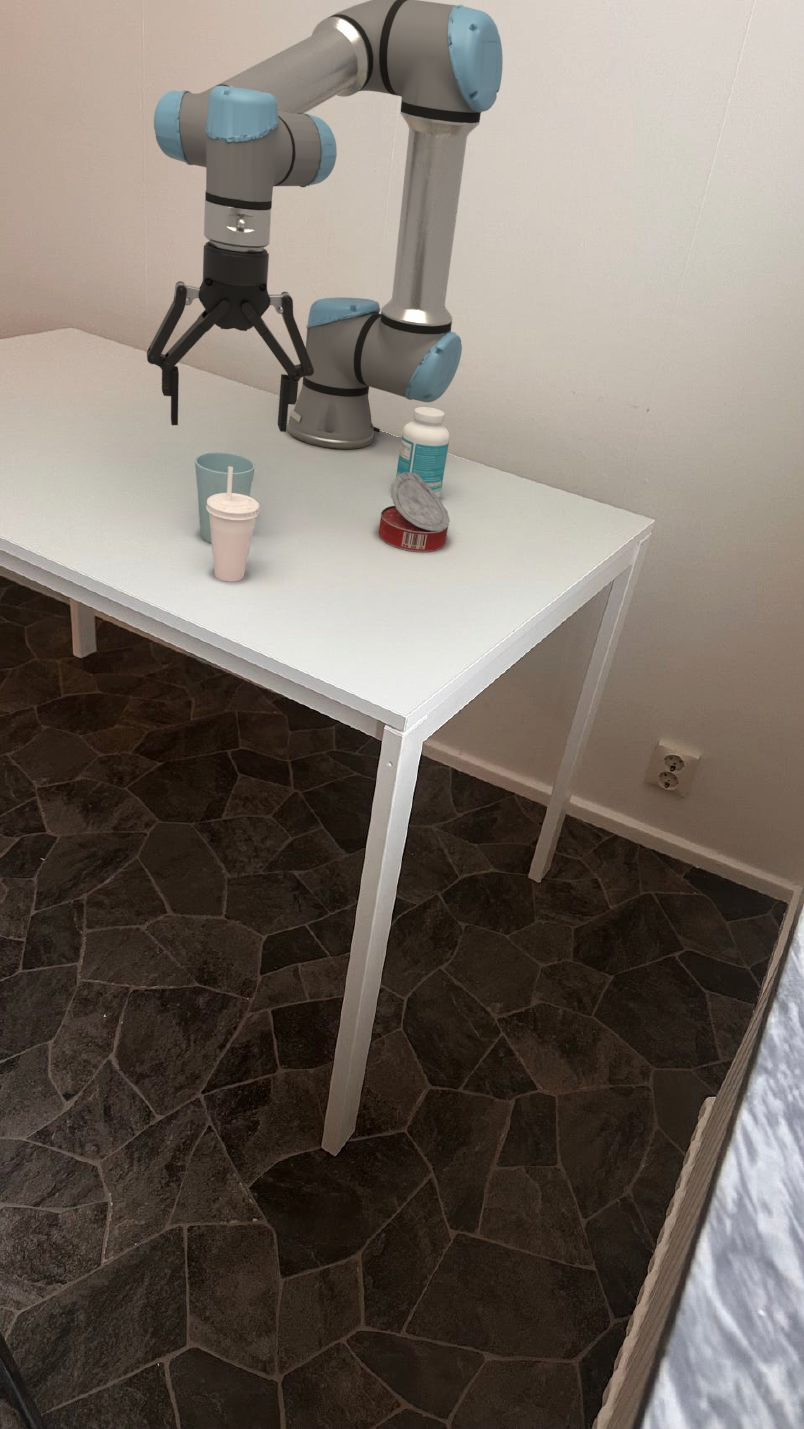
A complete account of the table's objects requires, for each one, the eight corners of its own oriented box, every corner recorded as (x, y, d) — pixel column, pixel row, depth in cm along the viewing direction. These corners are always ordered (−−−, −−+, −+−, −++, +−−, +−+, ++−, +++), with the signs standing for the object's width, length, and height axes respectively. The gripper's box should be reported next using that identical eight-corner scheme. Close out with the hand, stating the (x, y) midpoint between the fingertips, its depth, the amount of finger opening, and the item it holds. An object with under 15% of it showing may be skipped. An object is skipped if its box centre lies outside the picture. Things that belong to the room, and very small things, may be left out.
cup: (257, 547, 133) (262, 472, 127) (201, 550, 129) (203, 473, 124) (241, 524, 138) (245, 452, 133) (186, 526, 135) (188, 452, 129)
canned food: (418, 554, 150) (456, 499, 147) (435, 577, 141) (475, 519, 139) (357, 517, 145) (395, 459, 142) (371, 538, 136) (411, 476, 134)
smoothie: (205, 561, 127) (210, 455, 119) (255, 566, 128) (263, 461, 120) (201, 583, 121) (205, 474, 114) (253, 588, 122) (261, 480, 115)
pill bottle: (446, 495, 160) (461, 412, 153) (428, 508, 154) (443, 422, 147) (405, 483, 162) (417, 400, 155) (385, 494, 156) (398, 409, 149)
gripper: (125, 238, 108) (127, 429, 120) (347, 262, 115) (329, 440, 127) (124, 226, 114) (127, 409, 126) (336, 250, 121) (320, 421, 133)
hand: (228, 425), depth 126 cm, fingers open, 13 cm apart
